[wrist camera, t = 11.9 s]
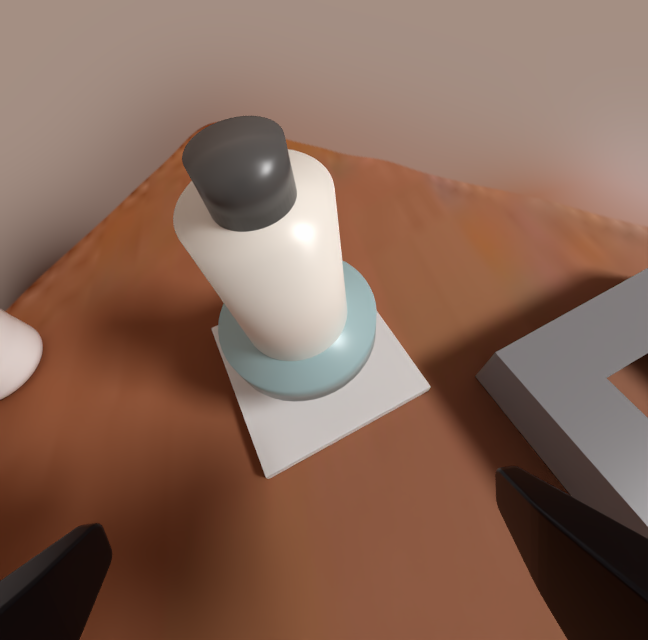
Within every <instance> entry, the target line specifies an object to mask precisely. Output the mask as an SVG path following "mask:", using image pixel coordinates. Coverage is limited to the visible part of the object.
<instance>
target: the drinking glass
mask: <svg viewBox="0 0 648 640" xmlns="http://www.w3.org/2000/svg"><path fill="white" fill-rule="evenodd" d="M42 352H43V343H42V339H41V337H40V335H39V333H38V332H37V331H36V330H35V329H34V328H33V327H31V326H30V325H28V324H26V323H24V322H23V321H21V320H19V319H17V318H15V317H14V316H12V315H10V314H8V313H7V312H5V311H3V310H2V309H0V400H1V399H3V398H5V397H7V396H9V395H10V394H12V393H13V392H15V391H16V390H17V389H19V388H20V387H21V386H22V385H23V384H24V383H25V382H26V381H27V380H28V379H29V378H30V377H31V375H32V374H33V373H34V371H35V370H36V368H37V366H38V364H39V362H40V360H41V357H42Z"/></svg>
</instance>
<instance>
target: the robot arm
mask: <svg viewBox="0 0 648 640" xmlns="http://www.w3.org/2000/svg"><path fill="white" fill-rule="evenodd" d="M495 477H496V501H497V505H498V508H499V511H500V513H501V515H502V517H503V519H504V521H505V523H506V525H507V527H508V529H509V531H510V533H511V535H512V537H513V540H514V542H515V544H516V546H517V548H518V550H519V552H520V554H521V556H522V558H523V560H524V562H525V564H526V566H527V568H528V570H529V573H530V575H531V577H532V579H533V581H534V582H535V584H536V586H537V588H538V590H539V592H540V594H541V595H542V597H543V599H544V601H545V602H546V604H547V606H548V608H549V609H550V611H551V613H552V614H553V616H554V618H555V619H556V621H557V623H558V624H559V626H560V628H561V629H562V631H563V633H564V634H565V636H566V638H567V639H568V640H648V538H646V537H645V536H643V535H641V534H639V533H637V532H635V531H634V530H632V529H630V528H628V527H626V526H625V525H623V524H621V523H619V522H617V521H615V520H614V519H612V518H610V517H608V516H606V515H605V514H603V513H601V512H599V511H597V510H595V509H594V508H592V507H590V506H588V505H586V504H585V503H583V502H581V501H579V500H577V499H575V498H574V497H572V496H570V495H568V494H566V493H565V492H563V491H561V490H559V489H557V488H555V487H554V486H552V485H550V484H548V483H546V482H545V481H543V480H541V479H539V478H537V477H535V476H534V475H532V474H530V473H528V472H526V471H525V470H523V469H521V468H519V467H517V466H509V467H501V468H498V469H497V470H496V474H495ZM111 560H112V549H111V546H110V544H109V541H108V539H107V536H106V534H105V531H104V529H103V527H102V525H100V524H99V523H93V524H85V525H81V526H78V527H77V528H75V529H74V530H72V531H71V532H70V533H68V534H67V535H65V536H64V537H62V538H61V539H60V540H58V541H57V542H55V543H54V544H52V545H51V546H50V547H48V548H47V549H45V550H44V551H42V552H41V553H40V554H38V555H37V556H35V557H34V558H32V559H31V560H30V561H28V562H27V563H25V564H24V565H22V566H21V567H20V568H18V569H17V570H15V571H14V572H12V573H11V574H10V575H8V576H7V577H5V578H4V579H2V580H1V581H0V640H79V639H80V637H81V634H82V632H83V630H84V627H85V625H86V622H87V620H88V617H89V615H90V612H91V610H92V608H93V605H94V603H95V600H96V598H97V595H98V593H99V590H100V588H101V586H102V583H103V581H104V578H105V576H106V573H107V571H108V568H109V566H110V563H111Z"/></svg>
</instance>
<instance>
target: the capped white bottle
mask: <svg viewBox="0 0 648 640" xmlns="http://www.w3.org/2000/svg"><path fill="white" fill-rule="evenodd" d="M182 161H183V165H184V167H185V169H186V171H187V172H188V174H189V176H190V178H191V180H192V181H191V182H190V184H189V185H188V186H187V187H186V188H185V190H184V191H183V193H182V194H181V196H180V197H179V199H178V201H177V204H176V207H175V210H174V217H173V221H174V228H175V232H176V234H177V236H178V238H179V240H180V241H181V243H182V244H183V246H184V247H185V248H186V250H187V251H188V253H189V254H190V255H191V257H192V258H193V260H194V261H195V263H196V264H197V265H198V267H199V268H200V270H201V271H202V273H203V274H204V275H205V277H206V278H207V280H208V281H209V282H210V284H211V285H212V287H213V288H214V290H215V291H216V292H217V294H218V295H219V297H220V298H221V299H222V301H223V302H224V304H223V306H222V309H221V312H220V317H219V322H218V335H219V342H220V345H221V349H222V351H223V353H224V356H225V358H226V359H227V361H228V362H229V364H230V365H231V366H232V367H233V368H234V370H235V371H236V372H237V373H238V374H239V375H240V376H241V377H242V378H243V379H244V380H245V381H246V382H247V383H248V384H249V385H250V386H252V387H253V388H254V389H255V390H257V391H259V392H260V393H262V394H264V395H266V396H269V397H271V398H275V399H279V400H283V401H293V402H295V401H308V400H314V399H318V398H321V397H324V396H327V395H329V394H331V393H334V392H336V391H337V390H339V389H341V388H342V387H344V386H345V385H346V384H348V383H349V382H350V381H351V380H353V379H354V378H355V377H356V375H357V374H358V373H359V372H360V371H361V370H362V368H363V367H364V366H365V364H366V362H367V361H368V359H369V357H370V355H371V352H372V349H373V346H374V342H375V335H376V303H375V299H374V295H373V293H372V291H371V288H370V286H369V285H368V283H367V281H366V280H365V279H364V277H363V276H362V275H361V274H360V273H359V272H358V271H357V270H356V269H355V268H354V267H352V266H351V265H349V264H348V263H346V262H344V261H342V254H341V245H340V236H339V226H338V217H337V207H336V198H335V189H334V183H333V180H332V177H331V175H330V173H329V172H328V170H327V169H326V168H325V167H324V166H323V165H322V164H321V163H320V162H319V161H317V160H316V159H315V158H313V157H311V156H309V155H307V154H304V153H301V152H298V151H294V150H288V149H287V144H286V140H285V136H284V132H283V130H282V128H281V127H280V126H279V125H278V124H277V123H275V122H274V121H272V120H270V119H268V118H264V117H258V116H240V117H234V118H229V119H226V120H222V121H220V122H217V123H215V124H212V125H210V126H208V127H207V128H205V129H203V130H202V131H200V132H199V133H198V134H196V135H195V136H194V137H193V138H192V139H191V140H190V141H189V143H188V144H187V145H186V147H185V149H184V152H183V156H182Z"/></svg>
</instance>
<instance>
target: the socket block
mask: <svg viewBox="0 0 648 640" xmlns="http://www.w3.org/2000/svg"><path fill="white" fill-rule="evenodd" d="M647 353H648V268H647V269H645V270H643V271H641V272H640V273H638V274H636V275H634V276H632V277H631V278H629V279H627V280H625V281H623V282H622V283H620V284H618V285H616V286H614V287H613V288H611V289H609V290H607V291H605V292H604V293H602V294H600V295H598V296H596V297H595V298H593V299H591V300H589V301H587V302H585V303H584V304H582V305H580V306H578V307H576V308H575V309H573V310H571V311H569V312H567V313H566V314H564V315H562V316H560V317H558V318H557V319H555V320H553V321H551V322H549V323H548V324H546V325H544V326H542V327H540V328H538V329H537V330H535V331H533V332H531V333H529V334H528V335H526V336H524V337H522V338H520V339H519V340H517V341H515V342H513V343H511V344H510V345H508V346H506V347H504V348H502V349H501V350H499V351H497V352H495V353H494V354H493V356H492V357H491V358H490V359H489V360H488V362H487V363H486V364H485V365H484V366H483V367H482V369H481V370H480V371H479V372H478V373H477V375H476V376H475V377H476V378H477V379H478V380H479V382H480V383H481V384H482V385H483V387H484V388H485V389H486V390H487V392H488V393H489V394H490V395H491V397H492V398H493V399H494V400H495V402H496V403H497V404H498V405H499V407H500V408H501V409H502V410H503V412H504V413H505V414H506V415H507V417H508V418H509V419H510V420H511V422H512V423H513V424H514V425H515V426H516V428H517V429H518V430H519V431H520V433H521V434H522V435H523V436H524V438H525V439H526V440H527V441H528V443H529V444H530V445H531V446H532V448H533V449H534V450H535V451H536V453H537V454H538V455H539V456H540V458H541V459H542V460H543V461H544V463H545V464H546V465H547V466H548V468H549V469H550V470H551V471H552V472H553V474H554V475H555V476H556V477H557V479H558V480H559V481H560V482H561V484H562V485H563V486H564V487H565V489H566V490H567V491H568V492H569V494H570V495H571V496H572V497H574V498H575V499H577V500H579V501H581V502H583V503H585V504H586V505H588V506H590V507H592V508H594V509H595V510H597V511H599V512H601V513H603V514H605V515H606V516H608V517H610V518H612V519H614V520H615V521H617V522H619V523H621V524H623V525H625V526H626V527H628V528H630V529H632V530H634V531H635V532H637V533H639V534H641V535H643V536H645V537H646V538H648V418H647V417H646V416H645V415H644V414H643V413H642V412H641V411H640V410H639V409H638V408H637V407H636V406H635V405H634V404H633V403H631V402H630V401H629V400H628V399H627V398H626V397H625V396H624V395H623V394H622V393H621V392H620V391H619V390H618V389H617V388H616V387H615V386H614V385H613V384H612V383H611V382H610V381H609V380H608V379H607V377H609V376H611V375H612V374H614V373H616V372H617V371H619V370H621V369H622V368H624V367H625V366H627V365H629V364H630V363H632V362H634V361H635V360H637V359H639V358H640V357H642V356H644V355H645V354H647Z"/></svg>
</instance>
